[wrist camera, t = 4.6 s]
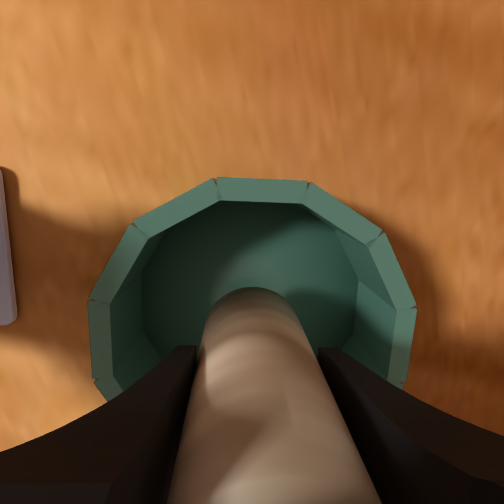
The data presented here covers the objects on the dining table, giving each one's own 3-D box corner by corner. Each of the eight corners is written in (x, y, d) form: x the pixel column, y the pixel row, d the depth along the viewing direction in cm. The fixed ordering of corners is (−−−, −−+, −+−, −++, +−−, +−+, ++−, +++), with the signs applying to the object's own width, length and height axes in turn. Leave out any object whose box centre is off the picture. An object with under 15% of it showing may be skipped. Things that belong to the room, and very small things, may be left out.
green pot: (134, 402, 19) (98, 479, 14) (126, 174, 16) (79, 171, 11) (353, 404, 20) (391, 478, 15) (378, 184, 17) (435, 186, 12)
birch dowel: (203, 374, 14) (153, 679, 6) (205, 285, 14) (147, 478, 5) (296, 375, 15) (387, 671, 6) (302, 288, 14) (420, 477, 5)
